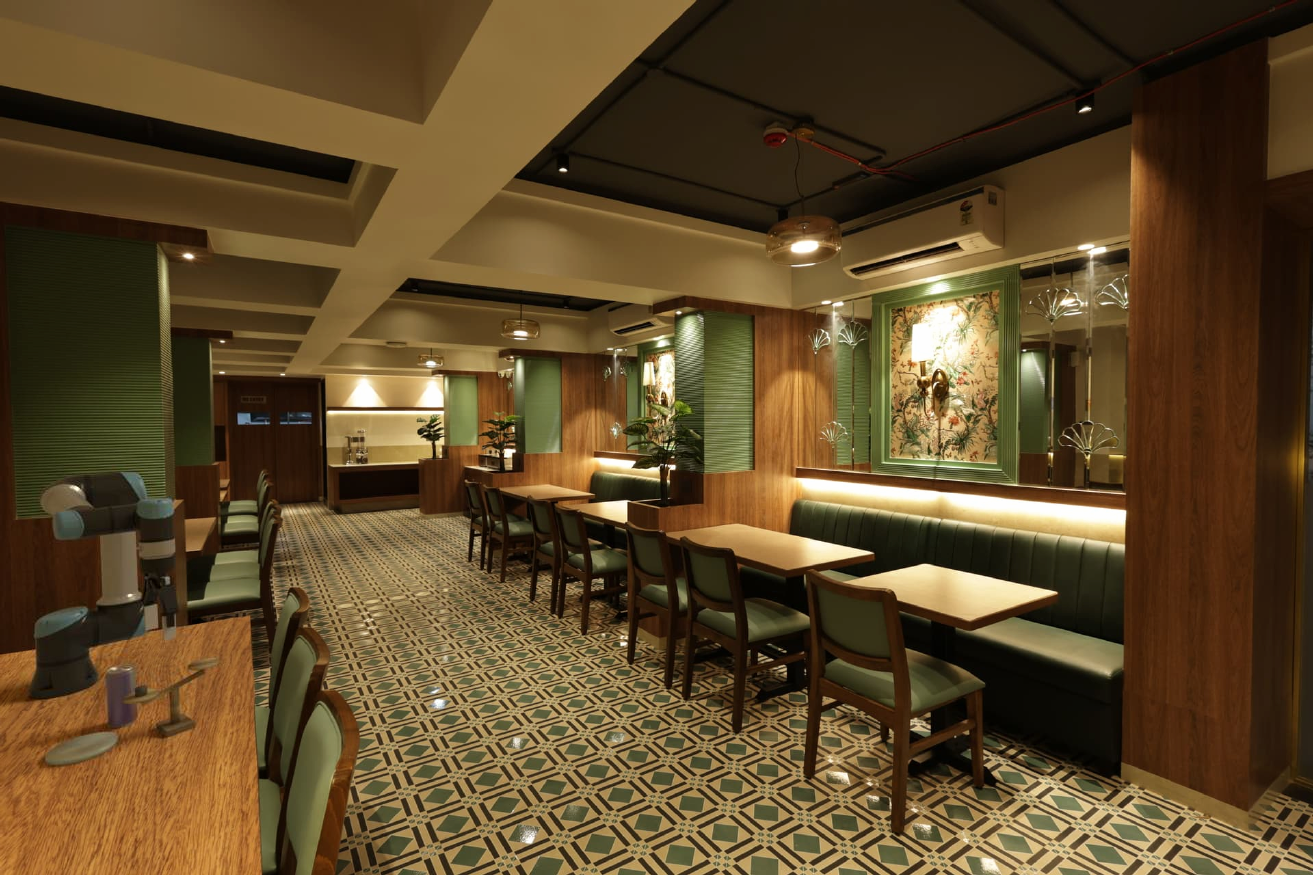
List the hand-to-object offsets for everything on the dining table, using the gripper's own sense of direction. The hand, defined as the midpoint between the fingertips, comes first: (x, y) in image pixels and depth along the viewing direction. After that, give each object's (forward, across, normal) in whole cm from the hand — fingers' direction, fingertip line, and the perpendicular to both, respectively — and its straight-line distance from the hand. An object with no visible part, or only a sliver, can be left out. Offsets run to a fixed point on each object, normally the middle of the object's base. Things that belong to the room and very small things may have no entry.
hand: (160, 633), depth 164 cm
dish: (+24, +2, -17) cm, 29 cm away
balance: (+24, +8, 0) cm, 25 cm away
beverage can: (+24, -7, -7) cm, 26 cm away
